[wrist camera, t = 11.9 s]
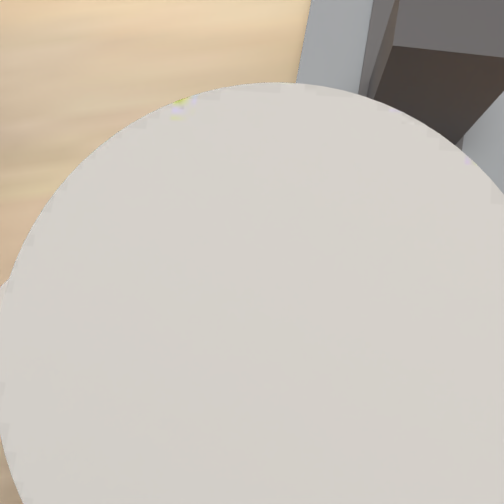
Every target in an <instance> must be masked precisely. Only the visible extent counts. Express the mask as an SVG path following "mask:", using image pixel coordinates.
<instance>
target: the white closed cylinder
mask: <svg viewBox="0 0 504 504" xmlns="http://www.w3.org/2000/svg"><path fill="white" fill-rule="evenodd" d="M0 436H1V440H2V445H3V449H4V453H5V457H6V460H7V463H8V466H9V469H10V472H11V476H12V478H13V481H14V483H15V486H16V488H17V491H18V493H19V496H20V498H21V500H22V502H23V504H504V194H503V193H502V192H501V191H500V189H499V188H498V187H497V186H496V185H495V183H494V182H493V181H492V180H491V179H490V178H489V177H488V176H487V175H486V174H485V172H484V171H483V170H482V169H481V168H480V167H479V166H478V165H477V164H476V163H475V162H474V161H473V160H471V159H470V158H469V157H468V156H467V155H466V154H465V153H463V152H462V151H461V150H460V149H459V148H458V147H456V146H455V145H454V144H452V143H451V142H450V141H448V140H447V139H446V138H444V137H443V136H442V135H441V134H439V133H437V132H436V131H434V130H433V129H431V128H430V127H428V126H427V125H425V124H423V123H422V122H420V121H418V120H416V119H415V118H413V117H411V116H409V115H407V114H405V113H404V112H402V111H399V110H397V109H395V108H393V107H390V106H388V105H386V104H384V103H381V102H378V101H376V100H373V99H370V98H367V97H365V96H361V95H358V94H354V93H351V92H347V91H344V90H339V89H334V88H329V87H324V86H317V85H310V84H301V83H284V82H280V83H254V84H243V85H236V86H230V87H224V88H219V89H215V90H211V91H207V92H203V93H199V94H196V95H193V96H190V97H187V98H184V99H181V100H178V101H176V102H173V103H171V104H168V105H166V106H164V107H162V108H159V109H157V110H155V111H153V112H151V113H149V114H147V115H145V116H144V117H142V118H140V119H138V120H137V121H135V122H133V123H131V124H130V125H128V126H127V127H125V128H124V129H122V130H121V131H119V132H118V133H116V134H115V135H113V136H112V137H111V138H109V139H108V140H107V141H106V142H104V143H103V144H102V145H100V146H99V147H98V148H97V149H96V150H94V151H93V152H92V153H91V154H90V155H89V156H88V157H87V158H86V159H84V160H83V161H82V162H81V163H80V164H79V165H78V166H77V168H76V169H75V170H74V171H73V172H72V173H71V174H70V175H69V176H68V177H67V178H66V179H65V181H64V182H63V183H62V184H61V185H60V187H59V188H58V189H57V190H56V191H55V193H54V194H53V196H52V197H51V198H50V200H49V201H48V202H47V204H46V205H45V207H44V208H43V210H42V211H41V213H40V215H39V216H38V218H37V219H36V221H35V223H34V224H33V226H32V228H31V230H30V232H29V234H28V235H27V237H26V239H25V241H24V243H23V245H22V248H21V250H20V252H19V254H18V257H17V259H16V261H15V264H14V267H13V269H12V272H11V275H10V278H9V280H8V284H7V287H6V291H5V294H4V298H3V301H2V306H1V311H0Z"/></svg>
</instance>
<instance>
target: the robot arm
mask: <svg viewBox="0 0 504 504" xmlns="http://www.w3.org/2000/svg"><path fill="white" fill-rule="evenodd" d="M8 280H9V279H8ZM8 280H7V281H6V282H5V283H4V284H3V285H2V286H1V287H0V311H1V306H2V301H3V298H4V294H5V291H6V287H7V284H8Z"/></svg>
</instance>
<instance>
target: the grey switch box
mask: <svg viewBox="0 0 504 504" xmlns="http://www.w3.org/2000/svg"><path fill="white" fill-rule="evenodd" d="M296 83H301V84H310V85H317V86H324V87H329V88H334V89H339V90H344V91H347V92H351V93H354V94H358V95H361V96H365V97H367V98H370V99H373V100H376V101H378V102H381V103H384V104H386V105H388V106H390V107H393V108H395V109H397V110H399V111H402V112H404V113H405V114H407V115H409V116H411V117H413V118H415V119H416V120H418V121H420V122H422V123H423V124H425V125H427V126H428V127H430V128H431V129H433V130H434V131H436V132H437V133H439V134H441V135H442V136H443V137H444V138H446V139H447V140H448V141H450V142H451V143H452V144H454V145H455V146H456V147H458V148H459V149H460V150H461V151H462V152H463V153H465V154H466V155H467V156H468V157H469V158H470V159H471V160H473V161H474V162H475V163H476V164H477V165H478V166H479V167H480V168H481V169H482V170H483V171H484V172H485V174H486V175H487V176H488V177H489V178H490V179H491V180H492V181H493V182H494V183H495V185H496V186H497V187H498V188H499V189H500V191H501V192H502V193H503V194H504V0H311V6H310V11H309V16H308V22H307V27H306V32H305V38H304V43H303V48H302V54H301V59H300V64H299V70H298V75H297V80H296Z"/></svg>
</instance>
